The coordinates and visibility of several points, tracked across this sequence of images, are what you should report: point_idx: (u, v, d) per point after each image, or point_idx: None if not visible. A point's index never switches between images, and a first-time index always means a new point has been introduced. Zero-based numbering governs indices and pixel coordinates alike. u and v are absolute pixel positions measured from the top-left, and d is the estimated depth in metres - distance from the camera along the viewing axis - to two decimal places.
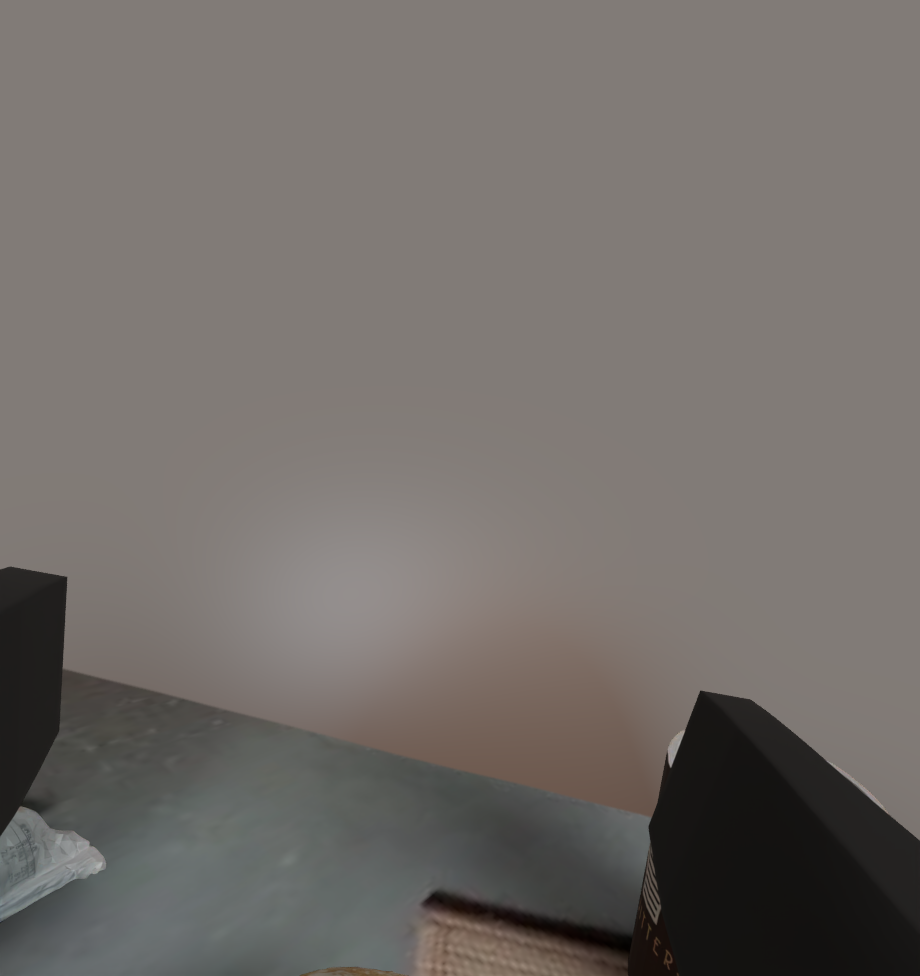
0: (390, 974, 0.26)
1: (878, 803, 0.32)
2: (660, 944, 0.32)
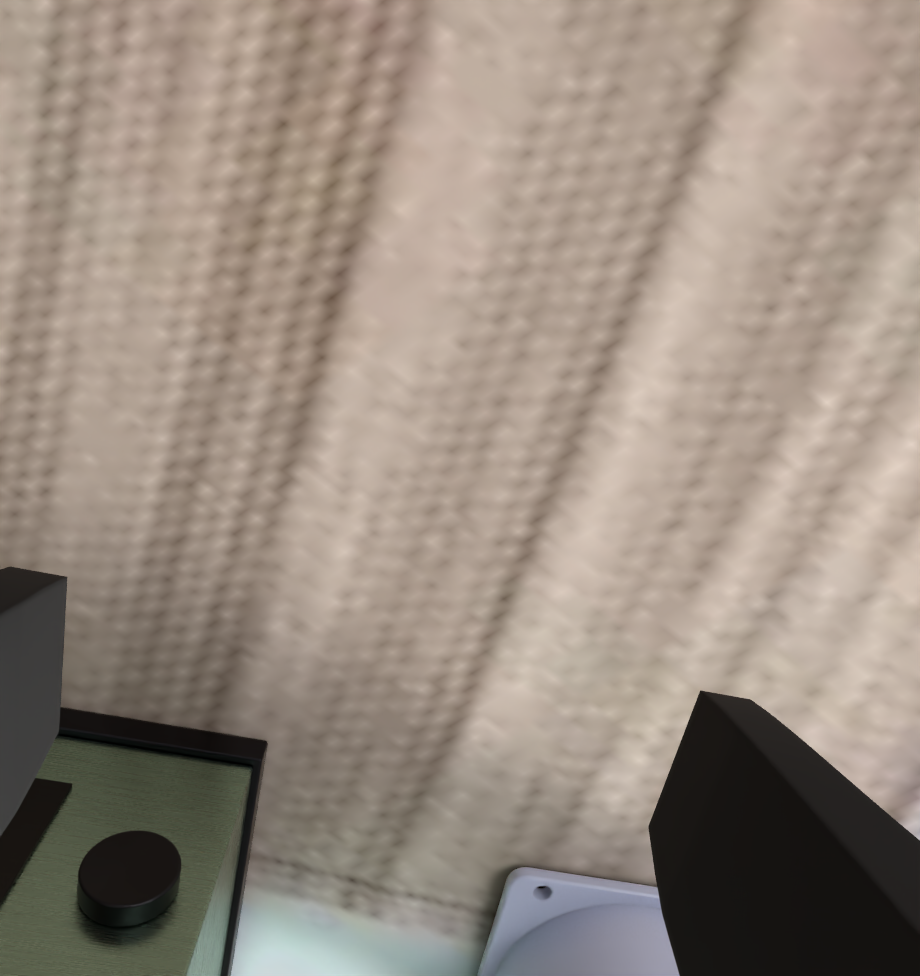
0: None
1: None
2: None
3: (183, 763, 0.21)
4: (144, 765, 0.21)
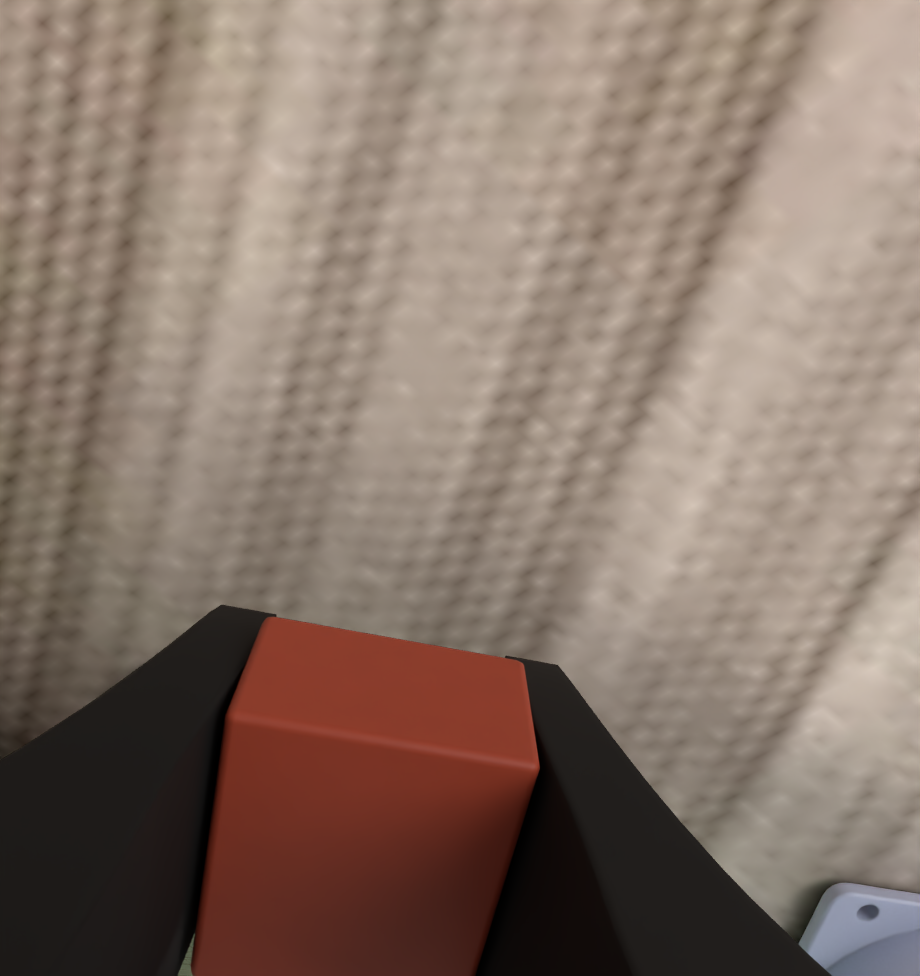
0: None
1: None
2: None
3: None
4: None
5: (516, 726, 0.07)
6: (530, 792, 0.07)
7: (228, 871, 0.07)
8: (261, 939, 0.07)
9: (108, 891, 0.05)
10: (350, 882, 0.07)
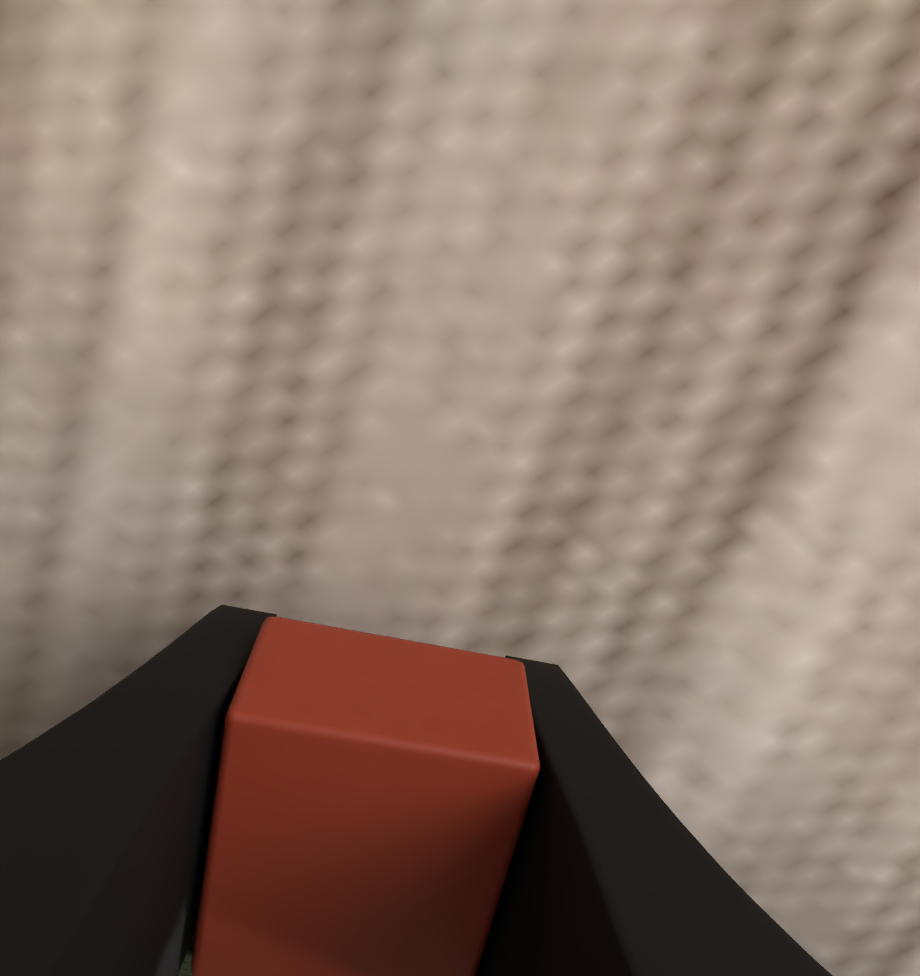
0: None
1: None
2: None
3: None
4: None
5: (516, 726, 0.07)
6: (530, 792, 0.07)
7: (229, 871, 0.07)
8: (262, 939, 0.07)
9: (108, 891, 0.05)
10: (350, 882, 0.07)
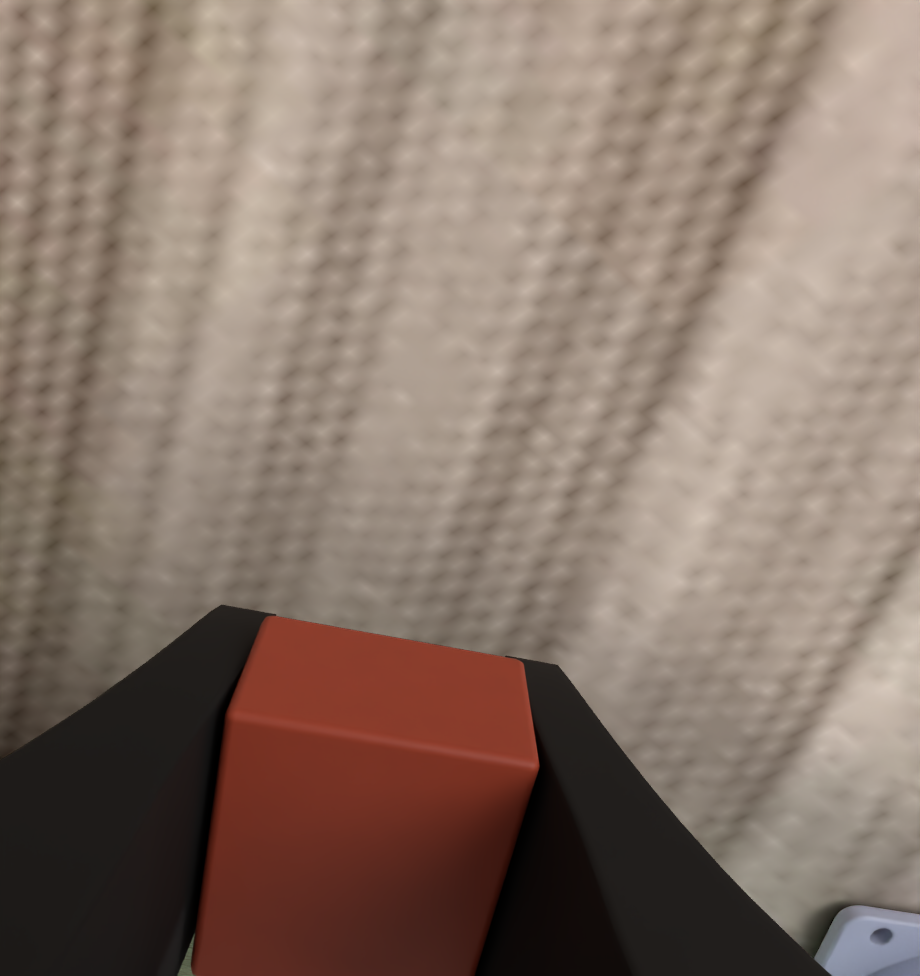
0: None
1: None
2: None
3: None
4: None
5: (515, 725, 0.07)
6: (529, 791, 0.07)
7: (227, 870, 0.07)
8: (261, 937, 0.07)
9: (108, 891, 0.05)
10: (350, 881, 0.07)
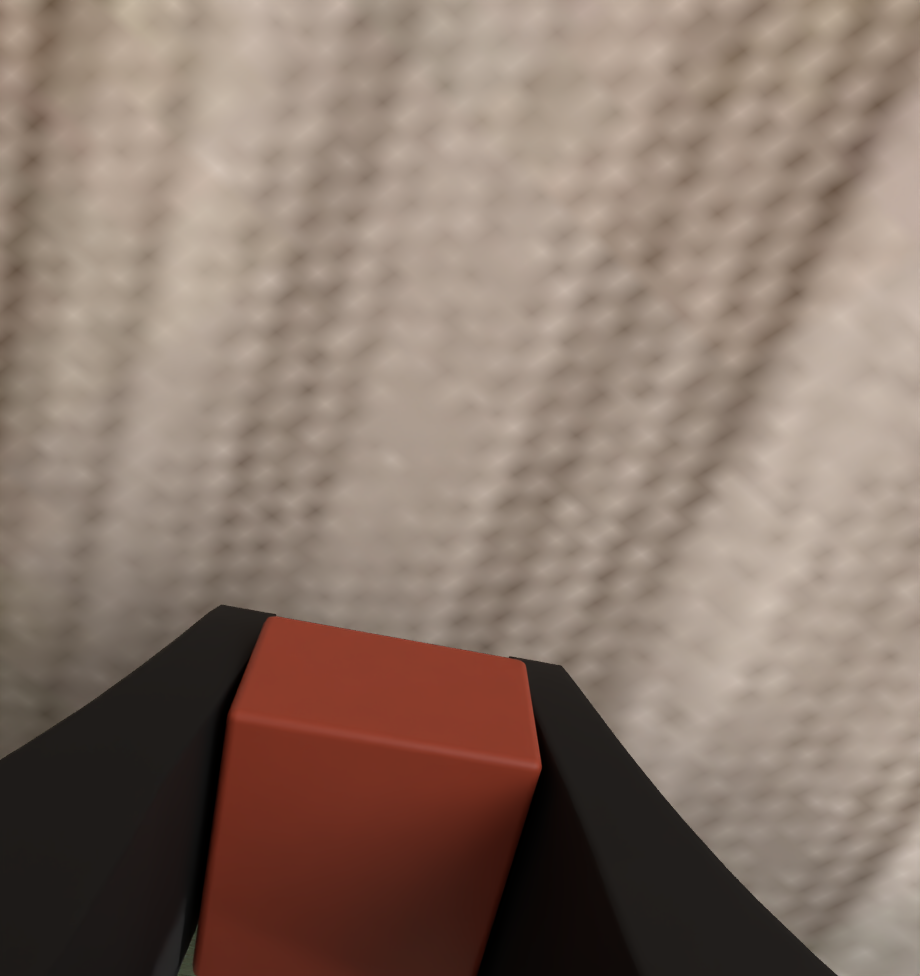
0: None
1: None
2: None
3: None
4: None
5: (518, 725, 0.07)
6: (532, 791, 0.07)
7: (230, 870, 0.07)
8: (262, 938, 0.07)
9: (108, 891, 0.05)
10: (352, 881, 0.07)
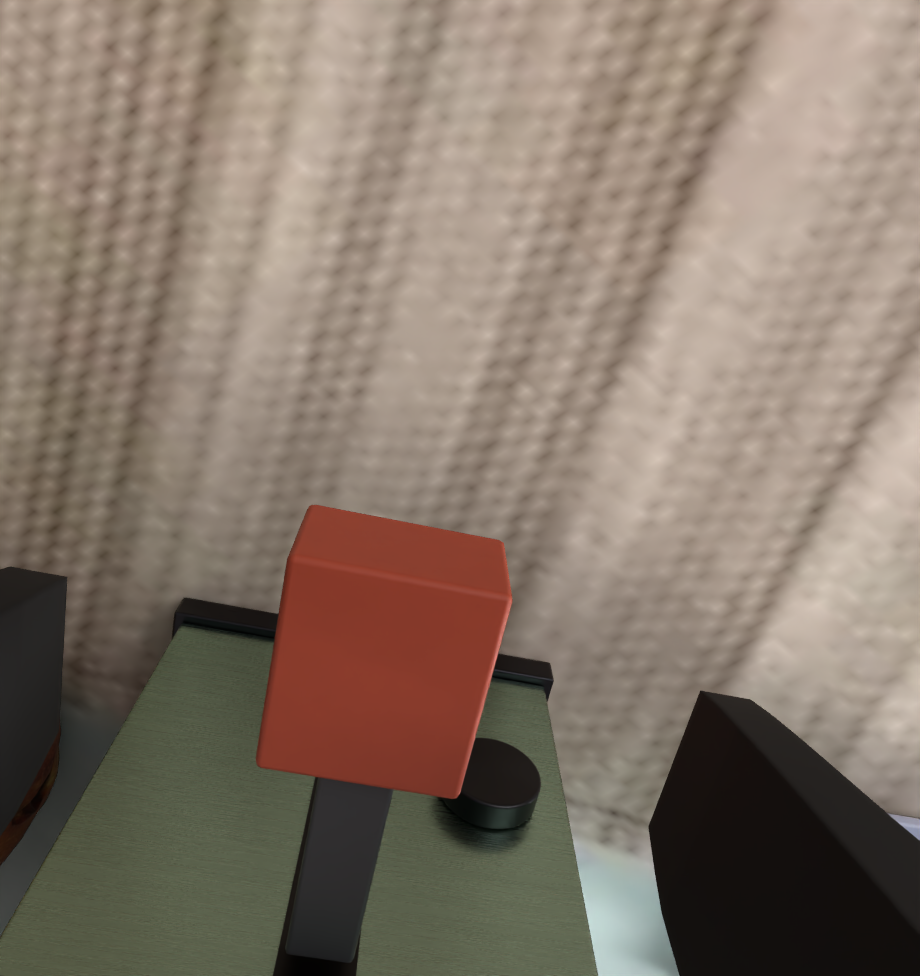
0: None
1: None
2: None
3: None
4: None
5: (496, 575, 0.10)
6: (505, 618, 0.10)
7: (286, 679, 0.10)
8: (309, 735, 0.10)
9: None
10: (375, 689, 0.10)
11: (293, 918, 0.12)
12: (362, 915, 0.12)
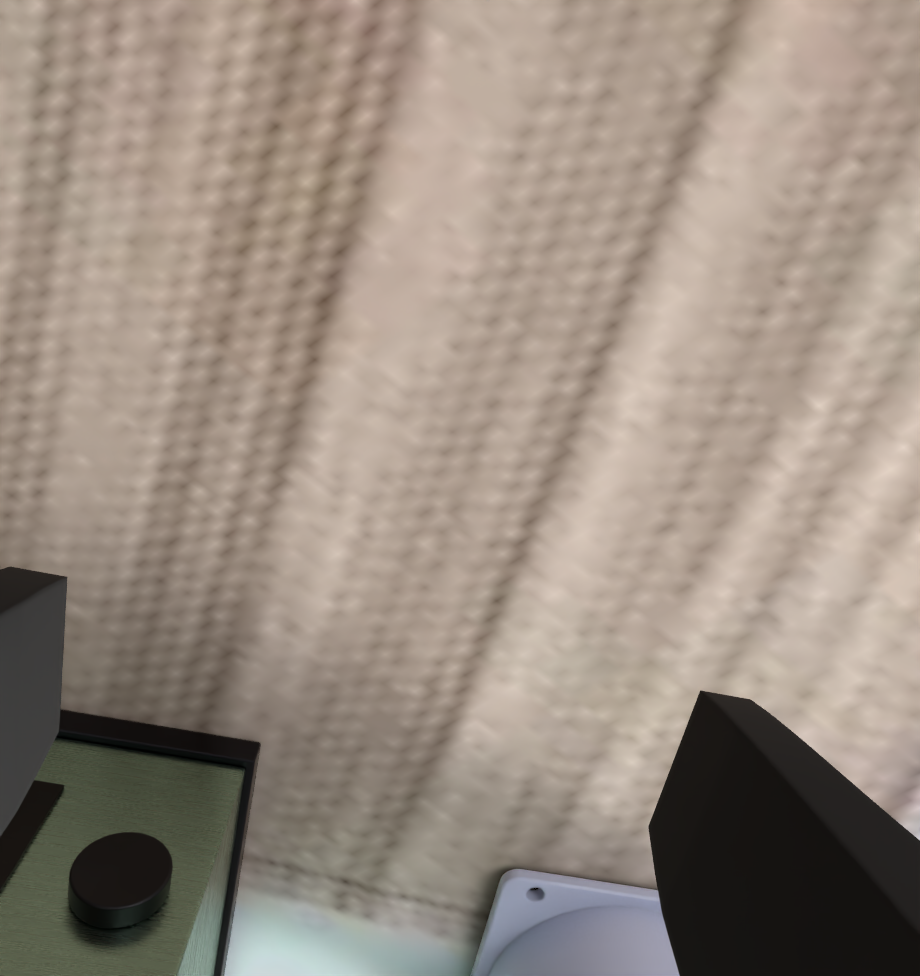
0: None
1: None
2: None
3: (176, 764, 0.21)
4: (137, 766, 0.21)
5: None
6: None
7: None
8: None
9: None
10: None
11: None
12: None
